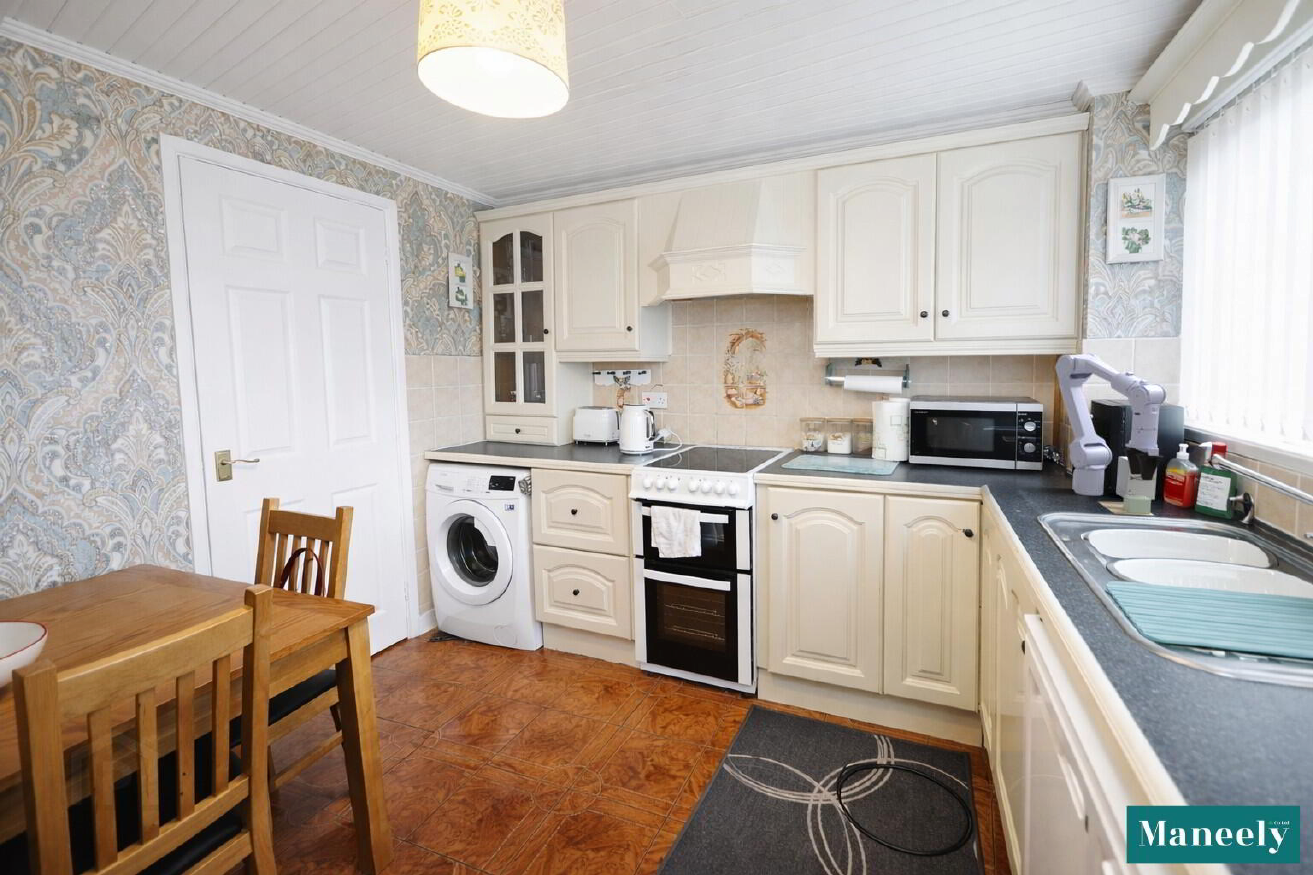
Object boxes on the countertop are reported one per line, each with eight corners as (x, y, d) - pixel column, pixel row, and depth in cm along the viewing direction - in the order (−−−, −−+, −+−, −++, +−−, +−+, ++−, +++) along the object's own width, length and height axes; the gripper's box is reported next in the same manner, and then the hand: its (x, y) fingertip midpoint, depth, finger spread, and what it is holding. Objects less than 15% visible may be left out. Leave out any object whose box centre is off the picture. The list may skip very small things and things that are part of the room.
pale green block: (1123, 509, 175) (1124, 494, 175) (1143, 509, 174) (1144, 495, 173) (1129, 513, 171) (1130, 498, 171) (1150, 514, 170) (1151, 499, 169)
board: (1097, 505, 184) (1097, 501, 184) (1133, 506, 182) (1134, 502, 181) (1114, 518, 171) (1115, 513, 171) (1154, 519, 168) (1155, 515, 168)
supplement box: (1125, 502, 186) (1128, 460, 184) (1115, 496, 193) (1117, 456, 191) (1155, 503, 184) (1158, 460, 182) (1143, 497, 191) (1146, 456, 189)
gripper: (1117, 425, 183) (1114, 471, 185) (1137, 432, 170) (1134, 482, 171) (1146, 425, 181) (1143, 472, 183) (1169, 432, 167) (1165, 482, 169)
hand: (1141, 477), depth 177 cm, fingers open, 7 cm apart
